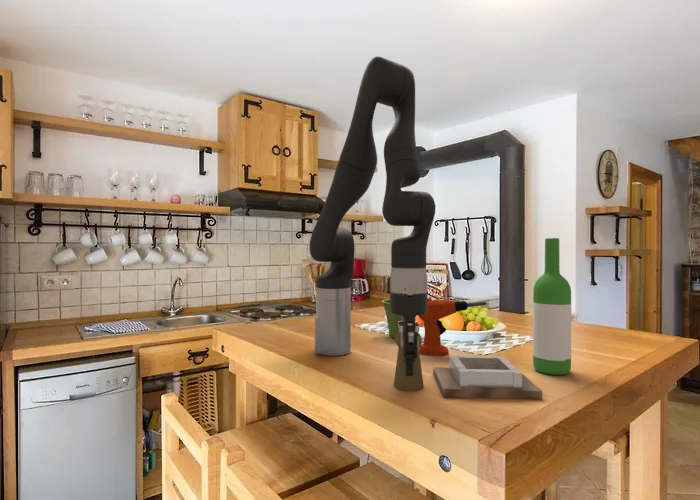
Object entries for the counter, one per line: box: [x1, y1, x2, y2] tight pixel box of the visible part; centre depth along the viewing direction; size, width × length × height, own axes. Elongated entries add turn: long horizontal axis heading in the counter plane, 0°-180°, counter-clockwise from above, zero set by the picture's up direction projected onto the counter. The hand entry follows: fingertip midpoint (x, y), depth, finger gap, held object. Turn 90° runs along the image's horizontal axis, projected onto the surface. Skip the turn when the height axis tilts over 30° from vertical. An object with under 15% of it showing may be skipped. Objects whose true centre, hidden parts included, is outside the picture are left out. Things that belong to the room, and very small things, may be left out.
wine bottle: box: [532, 237, 572, 376], centre depth 94 cm, size 8×8×30 cm
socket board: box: [432, 366, 543, 400], centre depth 84 cm, size 18×14×2 cm
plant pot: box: [381, 298, 402, 339], centre depth 130 cm, size 12×12×11 cm
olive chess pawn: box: [393, 332, 425, 392], centre depth 84 cm, size 6×6×11 cm
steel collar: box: [448, 354, 523, 389], centre depth 84 cm, size 11×12×3 cm
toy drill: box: [417, 297, 488, 356], centre depth 109 cm, size 5×19×15 cm, turn 82°
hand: (408, 374), depth 84 cm, fingers closed on olive chess pawn, 3 cm apart
